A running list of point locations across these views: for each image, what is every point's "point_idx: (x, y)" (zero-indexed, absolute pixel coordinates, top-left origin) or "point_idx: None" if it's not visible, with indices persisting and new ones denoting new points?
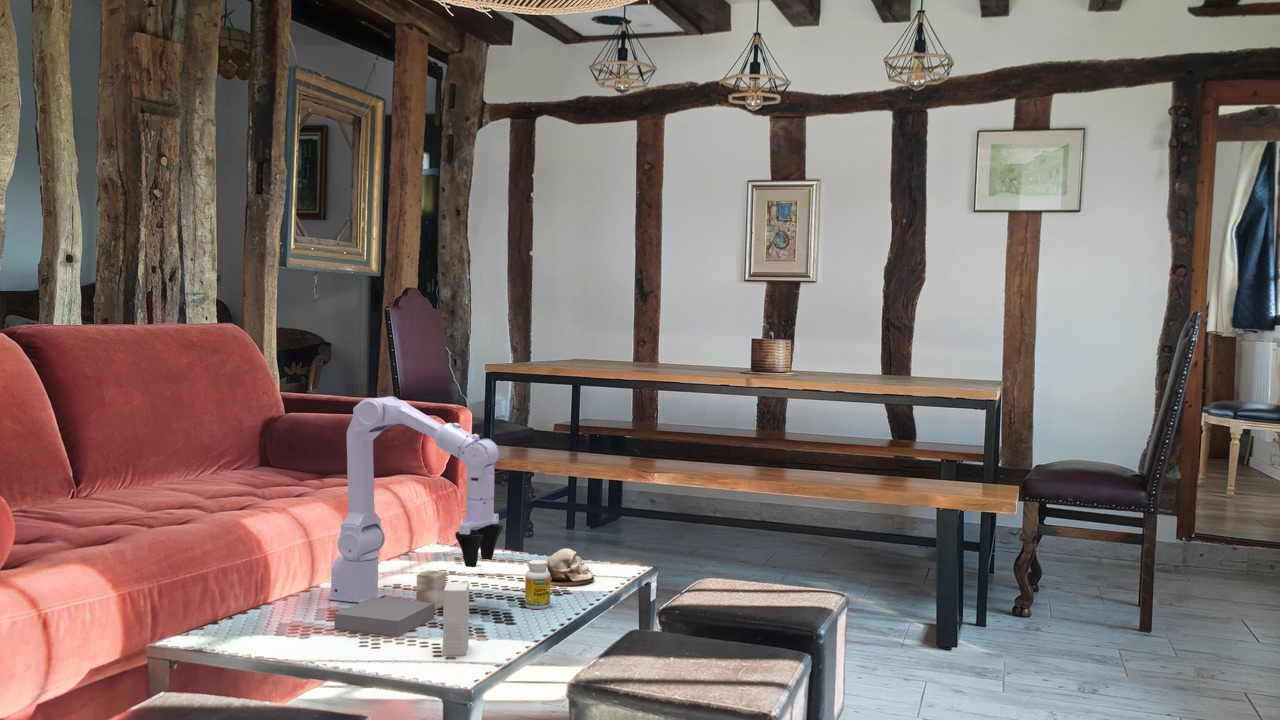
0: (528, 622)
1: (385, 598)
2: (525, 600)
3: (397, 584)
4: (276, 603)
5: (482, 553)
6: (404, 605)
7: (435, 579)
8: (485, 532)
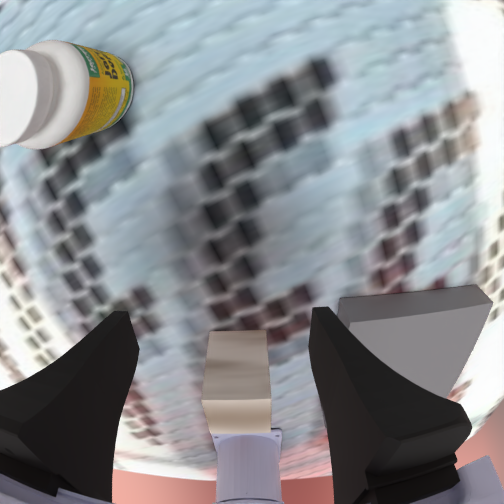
0: (288, 26)
1: None
2: (114, 120)
3: (137, 435)
4: (314, 476)
5: (131, 367)
6: (383, 361)
7: (270, 392)
8: (89, 455)
